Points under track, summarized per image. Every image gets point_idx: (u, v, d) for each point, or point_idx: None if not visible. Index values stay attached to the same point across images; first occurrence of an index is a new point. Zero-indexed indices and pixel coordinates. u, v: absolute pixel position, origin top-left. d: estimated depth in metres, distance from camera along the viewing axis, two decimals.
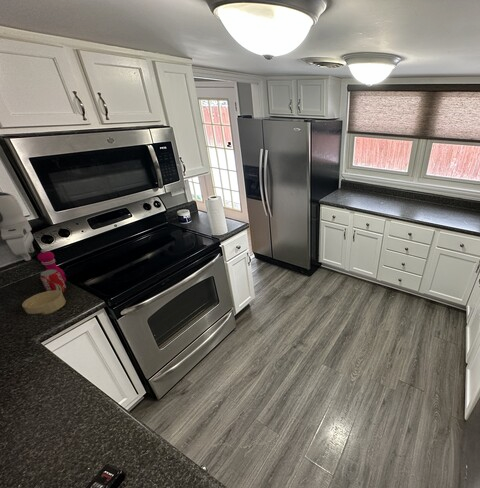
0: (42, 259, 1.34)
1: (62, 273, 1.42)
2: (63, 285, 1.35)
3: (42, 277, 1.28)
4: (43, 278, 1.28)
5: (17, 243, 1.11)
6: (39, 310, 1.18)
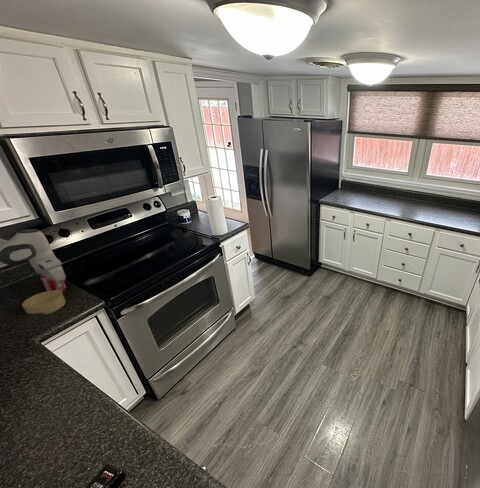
0: None
1: None
2: (63, 285, 1.35)
3: (42, 277, 1.28)
4: (43, 278, 1.28)
5: (58, 270, 1.27)
6: (39, 310, 1.18)
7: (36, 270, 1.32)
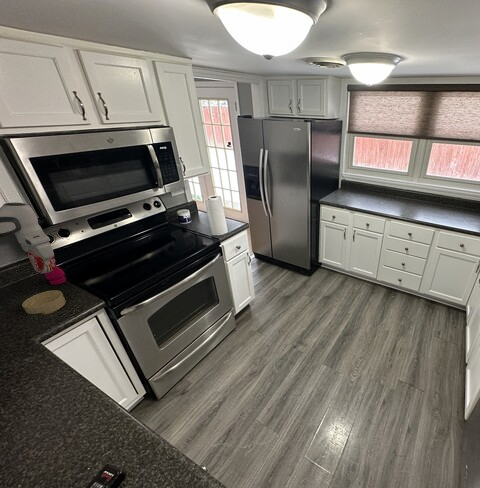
0: None
1: (62, 273, 1.42)
2: (51, 264, 1.29)
3: (29, 254, 1.23)
4: (30, 255, 1.23)
5: (46, 247, 1.21)
6: (39, 310, 1.18)
7: (23, 247, 1.26)
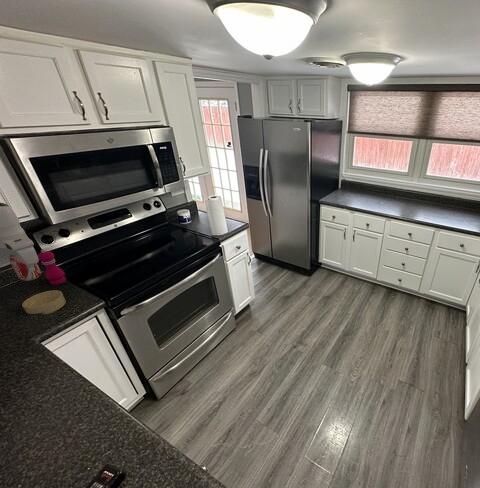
0: (42, 259, 1.34)
1: (62, 273, 1.42)
2: (37, 270, 1.17)
3: (11, 260, 1.10)
4: (12, 261, 1.10)
5: (29, 252, 1.09)
6: (39, 310, 1.18)
7: (5, 252, 1.14)
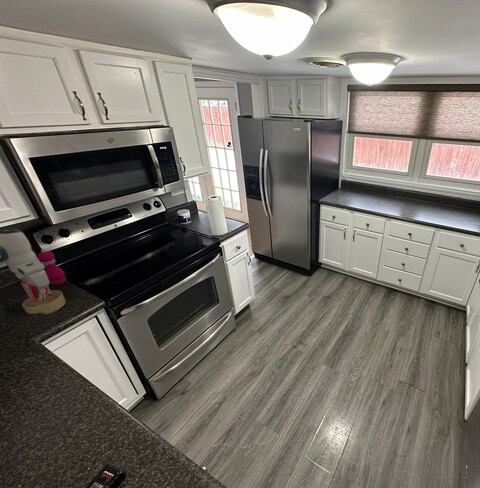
0: (42, 259, 1.34)
1: (62, 273, 1.42)
2: (47, 291, 1.21)
3: (23, 282, 1.15)
4: (24, 283, 1.15)
5: (41, 275, 1.13)
6: (39, 310, 1.18)
7: (17, 274, 1.18)
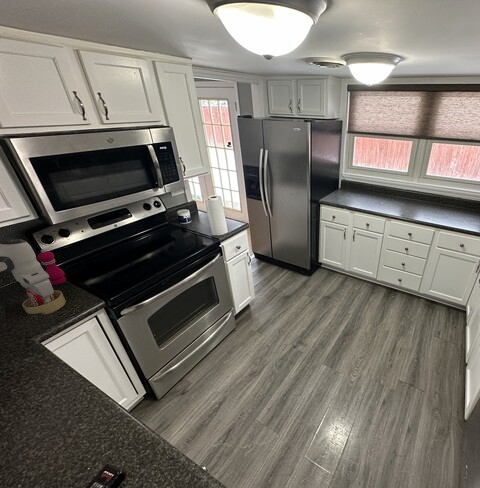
0: (42, 259, 1.34)
1: (62, 273, 1.42)
2: (52, 300, 1.23)
3: (28, 292, 1.17)
4: (29, 293, 1.17)
5: (45, 284, 1.15)
6: (39, 310, 1.18)
7: (21, 283, 1.20)
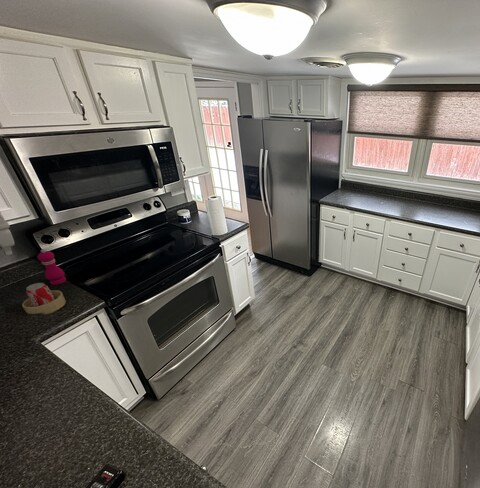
0: (42, 259, 1.34)
1: (62, 273, 1.42)
2: (52, 300, 1.23)
3: (28, 292, 1.17)
4: (29, 293, 1.17)
5: (5, 234, 1.07)
6: (39, 310, 1.18)
7: None
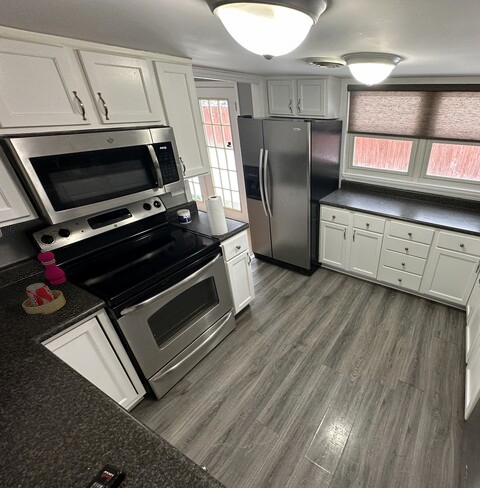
0: (42, 259, 1.34)
1: (62, 273, 1.42)
2: (52, 300, 1.23)
3: (28, 292, 1.17)
4: (29, 293, 1.17)
5: None
6: (39, 310, 1.18)
7: None
